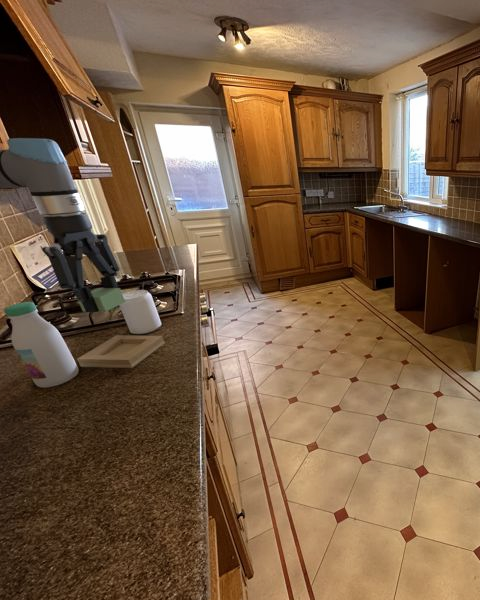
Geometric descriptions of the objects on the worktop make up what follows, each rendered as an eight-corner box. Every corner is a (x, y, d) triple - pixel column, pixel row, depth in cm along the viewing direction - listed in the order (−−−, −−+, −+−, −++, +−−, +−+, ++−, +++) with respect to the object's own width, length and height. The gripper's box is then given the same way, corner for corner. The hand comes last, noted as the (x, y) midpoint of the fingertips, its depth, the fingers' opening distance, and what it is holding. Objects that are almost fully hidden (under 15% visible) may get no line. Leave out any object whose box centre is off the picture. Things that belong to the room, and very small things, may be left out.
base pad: (80, 366, 84) (76, 358, 83) (119, 342, 95) (116, 335, 94) (132, 368, 83) (128, 360, 82) (165, 343, 94) (162, 335, 93)
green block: (82, 311, 80) (76, 297, 79) (104, 301, 86) (98, 287, 84) (105, 311, 80) (99, 297, 78) (125, 301, 85) (120, 287, 84)
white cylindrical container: (150, 335, 98) (136, 299, 93) (124, 335, 98) (109, 300, 93) (167, 323, 105) (156, 289, 101) (143, 323, 106) (130, 289, 101)
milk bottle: (79, 365, 84) (43, 295, 76) (80, 378, 79) (42, 305, 71) (37, 378, 80) (-6, 305, 71) (36, 393, 74) (-11, 316, 66)
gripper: (35, 221, 64) (83, 323, 74) (115, 207, 82) (146, 291, 91) (0, 222, 65) (52, 323, 74) (87, 207, 82) (121, 291, 92)
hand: (104, 305), depth 83 cm, fingers closed on green block, 6 cm apart
